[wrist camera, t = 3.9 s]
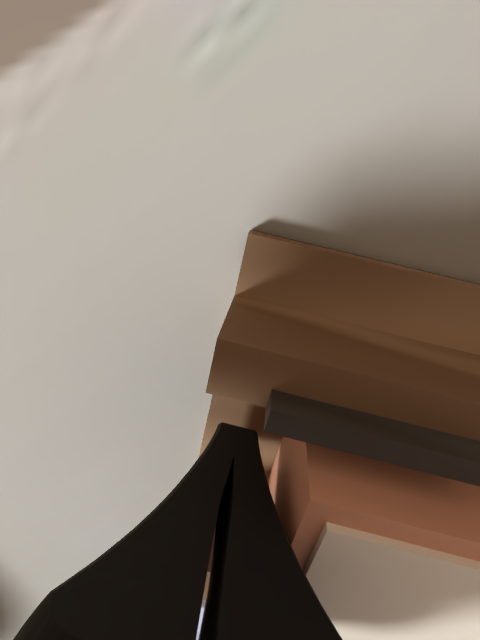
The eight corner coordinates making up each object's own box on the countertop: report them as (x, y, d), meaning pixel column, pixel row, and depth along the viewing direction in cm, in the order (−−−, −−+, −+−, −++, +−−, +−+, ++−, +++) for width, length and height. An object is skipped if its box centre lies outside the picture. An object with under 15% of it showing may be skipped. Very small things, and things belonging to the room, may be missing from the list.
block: (446, 536, 13) (522, 710, 9) (264, 490, 14) (254, 639, 9) (516, 435, 11) (655, 596, 7) (301, 381, 12) (310, 507, 7)
